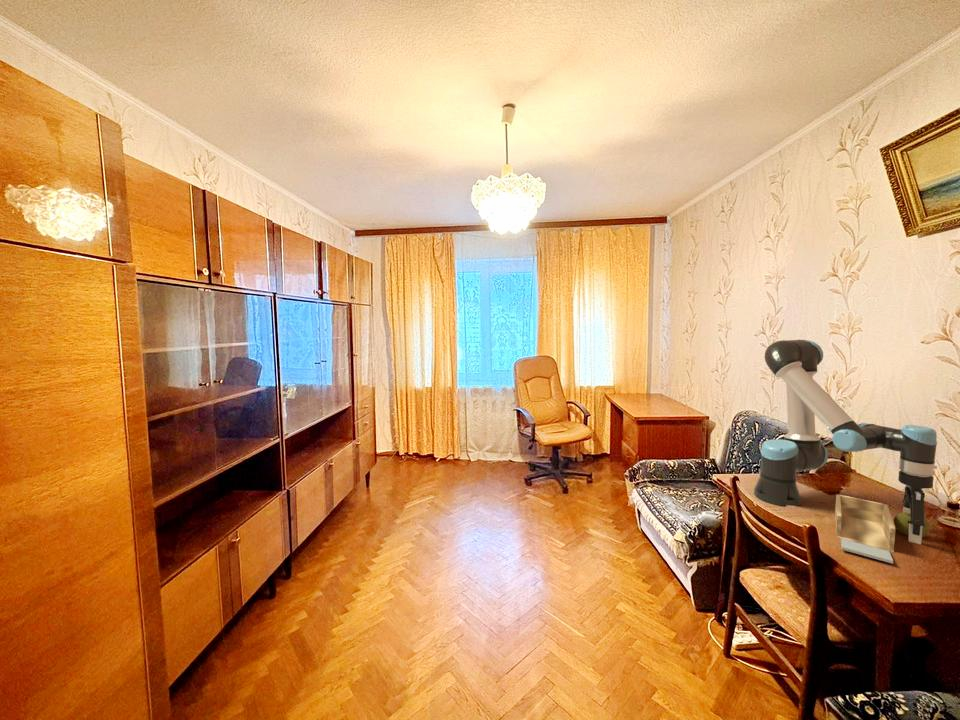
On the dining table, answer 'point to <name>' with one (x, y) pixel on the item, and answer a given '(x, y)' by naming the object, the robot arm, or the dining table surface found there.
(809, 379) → the robot arm
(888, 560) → the pale blue panel
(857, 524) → the crate
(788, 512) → the dining table surface
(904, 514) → the apple
